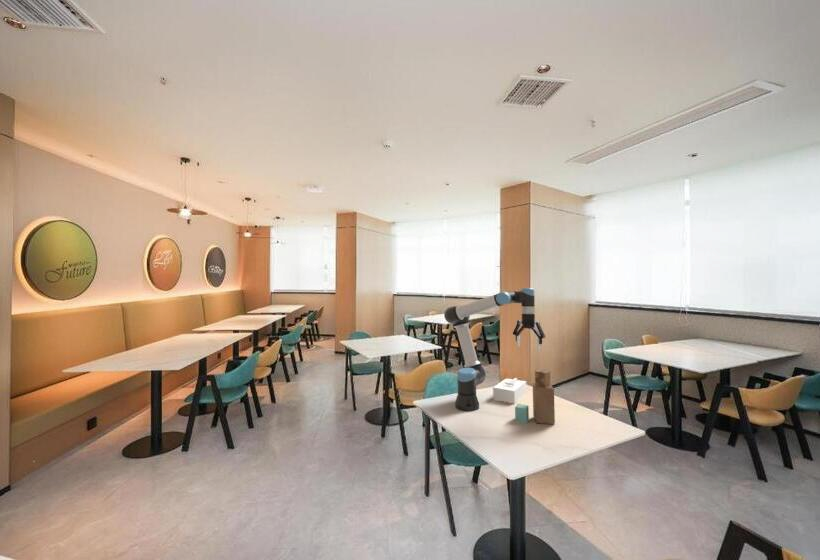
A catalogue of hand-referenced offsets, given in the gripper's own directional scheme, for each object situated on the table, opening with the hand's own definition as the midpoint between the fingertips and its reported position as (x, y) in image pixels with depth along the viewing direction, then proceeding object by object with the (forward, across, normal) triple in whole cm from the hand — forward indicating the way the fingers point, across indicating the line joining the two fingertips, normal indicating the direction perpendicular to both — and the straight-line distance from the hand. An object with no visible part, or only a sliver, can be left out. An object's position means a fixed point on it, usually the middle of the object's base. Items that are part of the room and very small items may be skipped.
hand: (528, 348), depth 202 cm
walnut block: (+18, +12, -7) cm, 23 cm away
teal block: (+38, +4, -16) cm, 42 cm away
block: (+38, +13, -7) cm, 41 cm away
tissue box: (+39, -22, +15) cm, 47 cm away
